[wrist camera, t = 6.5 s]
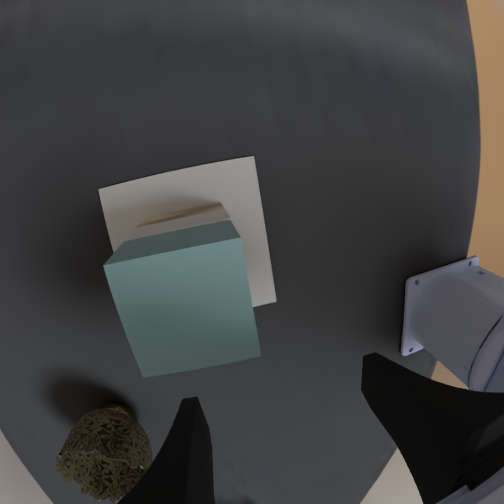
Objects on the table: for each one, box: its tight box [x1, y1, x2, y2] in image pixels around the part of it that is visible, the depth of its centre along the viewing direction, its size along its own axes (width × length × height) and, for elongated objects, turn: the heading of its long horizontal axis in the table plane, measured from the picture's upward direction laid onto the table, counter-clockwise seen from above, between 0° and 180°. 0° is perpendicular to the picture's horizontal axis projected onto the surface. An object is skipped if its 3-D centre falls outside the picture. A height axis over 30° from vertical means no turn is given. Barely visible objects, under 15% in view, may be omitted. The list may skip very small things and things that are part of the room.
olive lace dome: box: [56, 401, 152, 504], centre depth 19 cm, size 8×7×8 cm
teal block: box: [103, 220, 261, 378], centre depth 13 cm, size 5×5×4 cm
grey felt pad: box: [98, 156, 276, 307], centre depth 20 cm, size 10×10×1 cm
